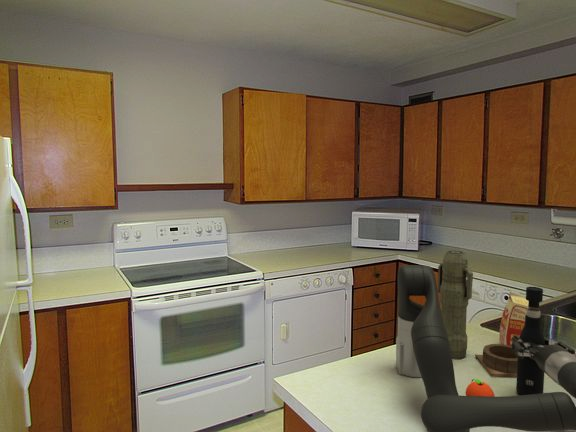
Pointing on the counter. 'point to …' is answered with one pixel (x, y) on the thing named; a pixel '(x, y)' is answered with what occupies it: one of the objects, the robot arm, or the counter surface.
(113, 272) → the counter surface
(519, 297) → the milk carton
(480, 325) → the counter surface
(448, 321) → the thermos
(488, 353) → the bottle stand
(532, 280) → the counter surface
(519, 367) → the wine bottle
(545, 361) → the robot arm
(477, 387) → the clementine
